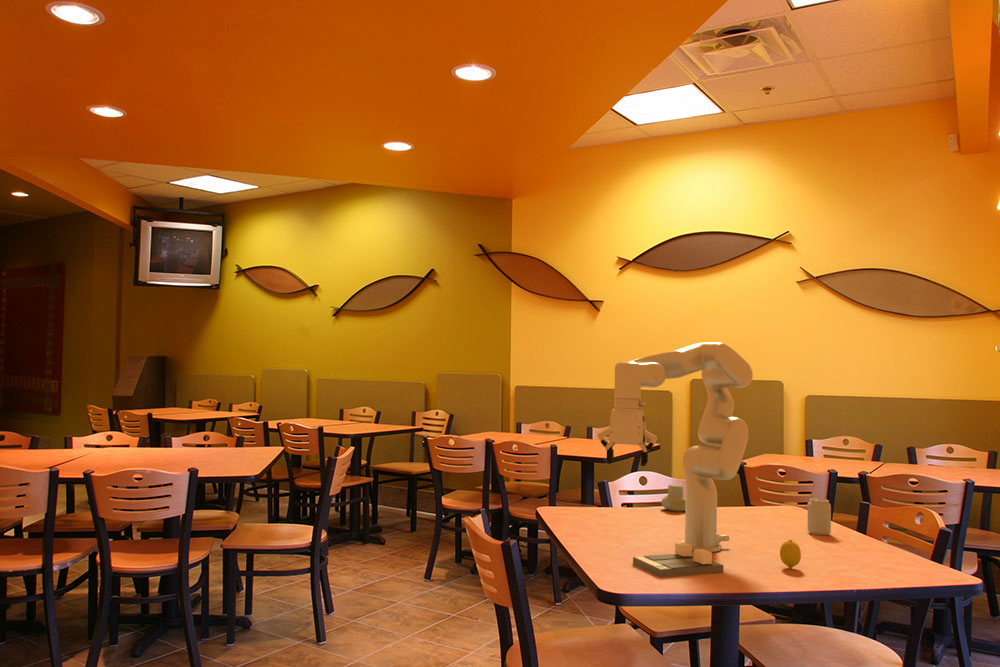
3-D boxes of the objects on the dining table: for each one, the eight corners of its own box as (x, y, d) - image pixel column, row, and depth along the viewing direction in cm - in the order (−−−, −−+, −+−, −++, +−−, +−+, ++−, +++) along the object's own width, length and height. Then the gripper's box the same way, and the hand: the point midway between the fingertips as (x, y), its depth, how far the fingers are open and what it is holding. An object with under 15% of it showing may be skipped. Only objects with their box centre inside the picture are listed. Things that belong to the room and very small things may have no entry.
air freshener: (665, 512, 295) (665, 486, 295) (659, 508, 303) (659, 483, 304) (692, 512, 296) (692, 487, 296) (685, 508, 304) (685, 484, 304)
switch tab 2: (702, 560, 206) (702, 549, 206) (711, 563, 202) (711, 552, 202) (693, 560, 205) (693, 549, 205) (702, 564, 201) (702, 552, 201)
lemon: (783, 565, 213) (783, 536, 214) (803, 568, 210) (803, 539, 210) (776, 568, 209) (777, 539, 210) (797, 572, 206) (797, 542, 206)
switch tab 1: (683, 552, 214) (684, 541, 215) (692, 555, 211) (692, 545, 211) (674, 553, 213) (675, 542, 213) (683, 556, 210) (683, 545, 210)
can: (827, 537, 255) (827, 501, 256) (804, 533, 260) (805, 499, 260) (833, 533, 261) (833, 499, 262) (810, 530, 266) (810, 496, 266)
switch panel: (692, 560, 216) (693, 552, 216) (723, 572, 203) (723, 564, 203) (632, 564, 209) (633, 556, 209) (660, 577, 196) (660, 568, 196)
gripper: (660, 405, 214) (659, 465, 214) (602, 403, 222) (601, 461, 221) (654, 406, 208) (653, 468, 207) (594, 404, 215) (594, 463, 214)
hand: (626, 464), depth 214 cm, fingers open, 9 cm apart
